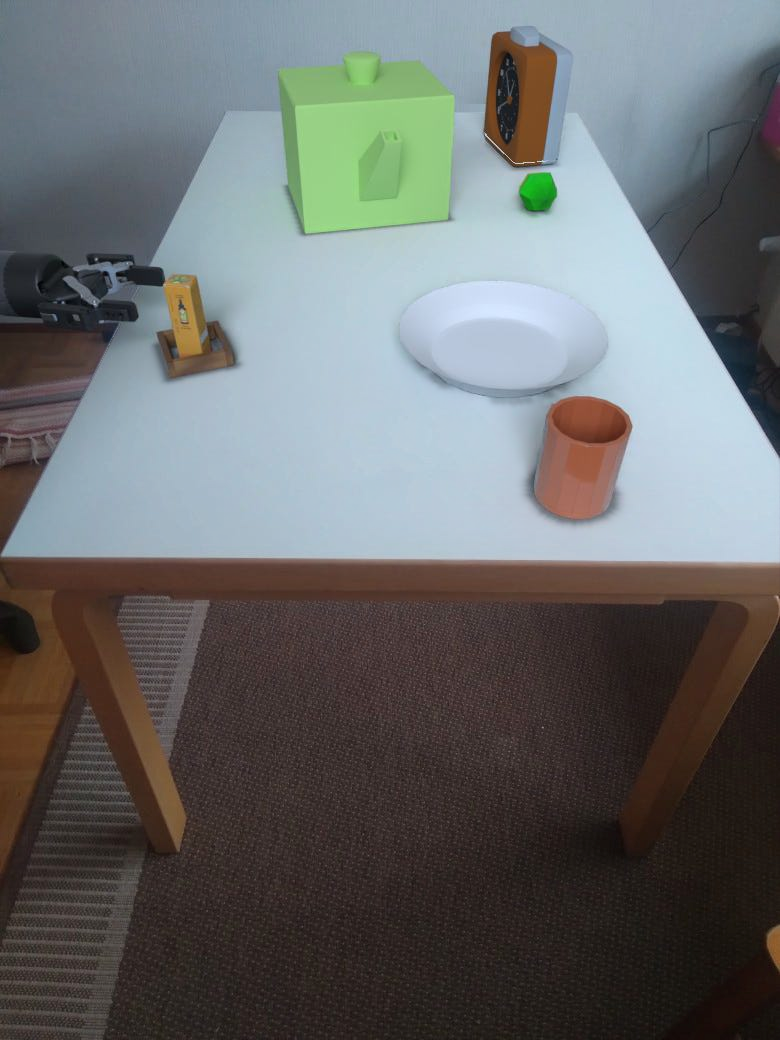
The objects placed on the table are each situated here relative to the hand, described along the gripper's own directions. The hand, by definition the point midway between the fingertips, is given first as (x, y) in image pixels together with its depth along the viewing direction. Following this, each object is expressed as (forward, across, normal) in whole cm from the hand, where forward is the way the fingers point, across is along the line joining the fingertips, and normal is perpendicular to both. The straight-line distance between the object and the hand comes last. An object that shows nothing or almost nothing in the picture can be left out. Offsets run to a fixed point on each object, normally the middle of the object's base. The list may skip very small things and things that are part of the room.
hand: (150, 293), depth 86 cm
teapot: (+17, +49, +8) cm, 53 cm away
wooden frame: (+4, 0, +8) cm, 9 cm away
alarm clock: (+43, +79, +8) cm, 90 cm away
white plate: (+41, +5, +8) cm, 43 cm away
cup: (+49, -19, +8) cm, 54 cm away
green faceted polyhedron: (+46, +52, +8) cm, 70 cm away
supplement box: (+4, 0, +8) cm, 9 cm away
